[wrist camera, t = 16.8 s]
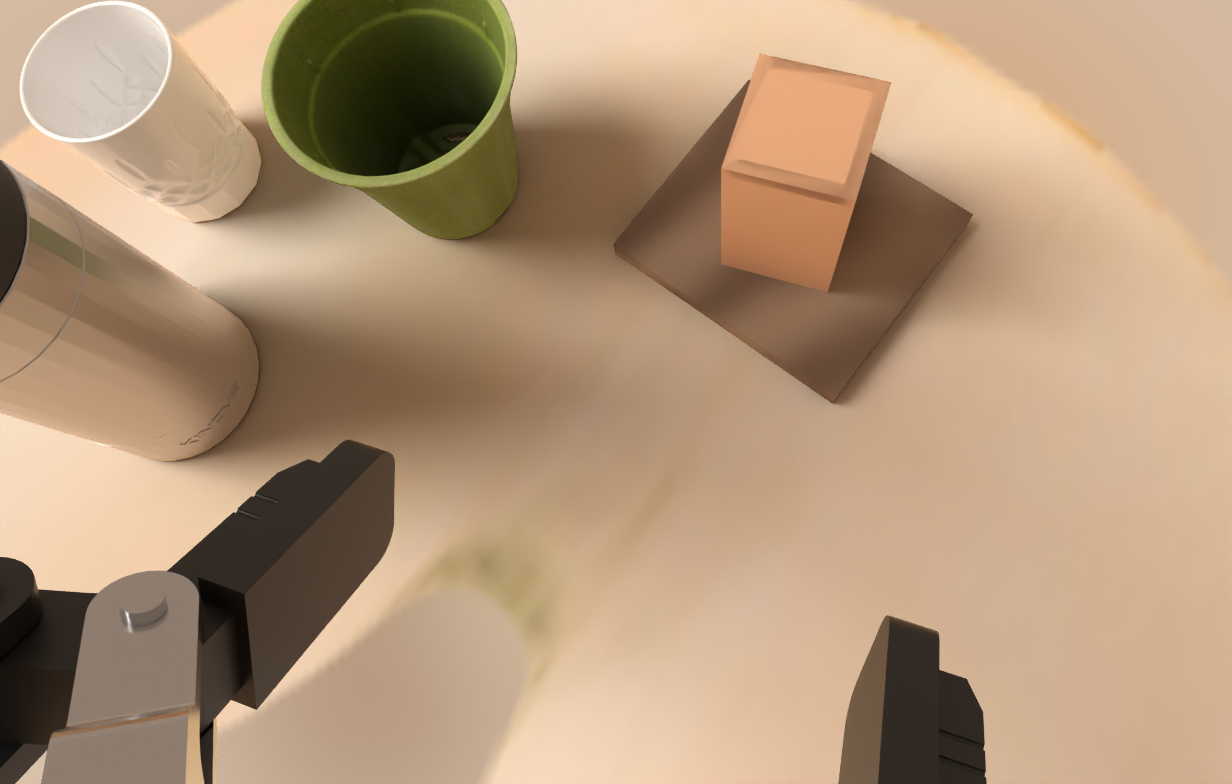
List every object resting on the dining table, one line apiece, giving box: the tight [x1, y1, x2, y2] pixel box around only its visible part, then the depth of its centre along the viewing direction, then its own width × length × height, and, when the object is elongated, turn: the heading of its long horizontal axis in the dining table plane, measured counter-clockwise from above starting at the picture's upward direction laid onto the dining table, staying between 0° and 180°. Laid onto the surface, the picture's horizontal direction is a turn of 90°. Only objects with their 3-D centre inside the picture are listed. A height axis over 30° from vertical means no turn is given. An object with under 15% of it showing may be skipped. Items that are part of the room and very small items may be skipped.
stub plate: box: [614, 80, 973, 403], centre depth 45 cm, size 14×12×6 cm
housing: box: [721, 54, 891, 293], centre depth 42 cm, size 6×6×10 cm
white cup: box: [20, 0, 262, 222], centre depth 48 cm, size 8×8×10 cm
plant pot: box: [262, 0, 519, 239], centre depth 46 cm, size 12×12×11 cm
